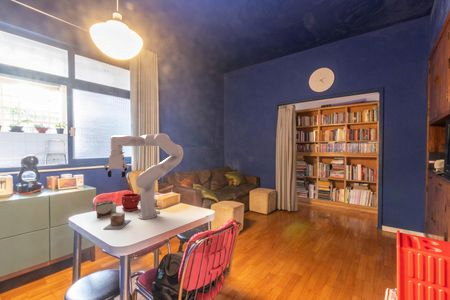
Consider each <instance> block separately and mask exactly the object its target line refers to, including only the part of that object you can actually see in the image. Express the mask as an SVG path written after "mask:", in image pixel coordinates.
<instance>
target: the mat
mask: <svg viewBox="0 0 450 300" xmlns="http://www.w3.org/2000/svg"><path fill="white" fill-rule="evenodd" d="M131 221H132V219H131V220H130V219H125V222H124V223H123V224H122V225H121V226H111V223H109V224H107V226H104V227H103V230H122V229H123V228H124V227H126V225H128V224H129V223H130V222H131Z"/></svg>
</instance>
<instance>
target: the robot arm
mask: <svg viewBox="0 0 450 300" xmlns="http://www.w3.org/2000/svg"><path fill="white" fill-rule="evenodd" d="M123 147H159V148H160V149H161V150H163V152H165V153H166V154H167V155H169V156H168V157H167V158H165V159H164V160H162V161H161V162H159V163H157V164H156V163H155V164H154V165H152V166H150V167H149V168H147V169H146V170H144V171H143V172H142V173H140V174H139V175H138V176H136V178H135V184H136V186H137V187H138V188H140V194H139V195H140V199H139V204H140V205H139V206H140V214H138V215H137V217H138V218H137V219H141V220H151V219H154V218H156V217H157V215H161V211H160V210H156V208H155V193H156V191H155V190H156V189H155V188H156V181H158V180H159V179H161V178H162V177H164V176H165V175H166V174H167V173H169V172H170V171H172V170H173V169H175V167H177V166H178V165H179V164H180V163H181V162H182V160H183V158H184V149H183V147H182V146H181V145H180V144H176V143H175V142H174V141H172V139H170V136H169V135H168V134H167V133H163V132H161V133H152V134H150V133H148V134H144V135H112V136H111V137H110V155H109V158H108V163H106V164H105V165H104V166H103V167H104V169H105V170H106V172H107V177H108V178H112V170H121V178H125V177H126V172H127V170H128V169H129V168H130V165H129V164H127V163H126V161H125V155H124V154H125V151H123Z"/></svg>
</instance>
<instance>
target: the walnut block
mask: <svg viewBox="0 0 450 300" xmlns="http://www.w3.org/2000/svg"><path fill="white" fill-rule="evenodd" d="M125 215H126V214H125V212H116V213H114V214H111V215H110V224H111V226H121V225H122V224H123V223H124V222H125V220H126V219H125V218H126V217H125Z"/></svg>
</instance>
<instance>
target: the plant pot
mask: <svg viewBox="0 0 450 300" xmlns="http://www.w3.org/2000/svg"><path fill="white" fill-rule="evenodd" d="M121 204H122V208H121V209H122V210H123V211H124V212H132V211H133V212H134V211H137V210H138V209H139V204H140V194H139V193H125V194H122V195H121Z"/></svg>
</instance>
